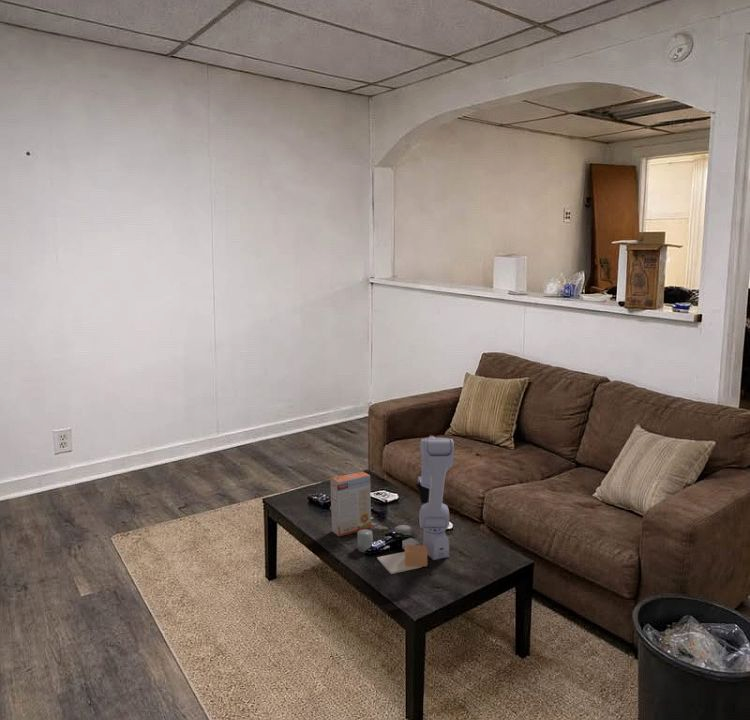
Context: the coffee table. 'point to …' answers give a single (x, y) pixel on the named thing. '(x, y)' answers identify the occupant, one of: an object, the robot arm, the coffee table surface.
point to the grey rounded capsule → (364, 539)
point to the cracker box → (350, 503)
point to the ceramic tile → (395, 563)
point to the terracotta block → (415, 555)
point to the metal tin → (409, 542)
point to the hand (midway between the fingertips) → (428, 506)
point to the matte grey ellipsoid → (403, 529)
